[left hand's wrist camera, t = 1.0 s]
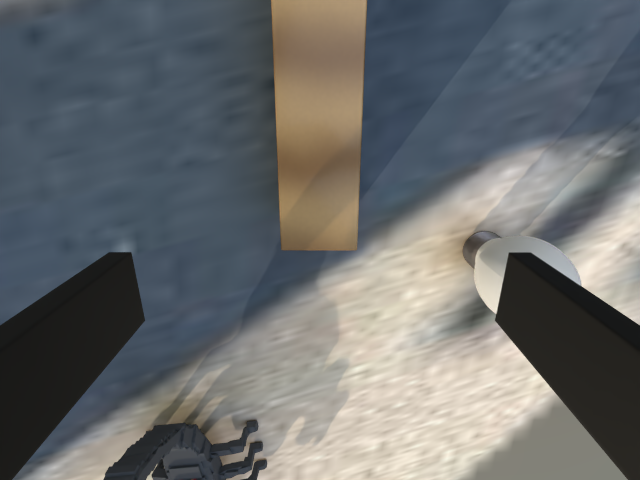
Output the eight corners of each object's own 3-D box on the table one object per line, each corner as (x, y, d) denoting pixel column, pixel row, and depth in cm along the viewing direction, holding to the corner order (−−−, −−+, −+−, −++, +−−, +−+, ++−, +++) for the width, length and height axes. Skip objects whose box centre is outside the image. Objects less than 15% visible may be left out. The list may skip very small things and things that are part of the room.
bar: (348, 217, 33) (357, 250, 25) (289, 217, 33) (281, 250, 25) (357, -109, 25) (375, -210, 17) (280, -109, 25) (262, -211, 17)
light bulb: (437, 265, 34) (488, 332, 24) (473, 204, 32) (545, 247, 22) (496, 289, 35) (569, 363, 25) (534, 230, 33) (632, 284, 23)
